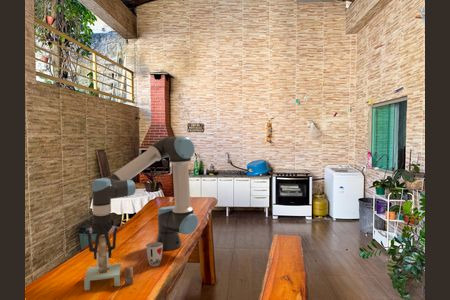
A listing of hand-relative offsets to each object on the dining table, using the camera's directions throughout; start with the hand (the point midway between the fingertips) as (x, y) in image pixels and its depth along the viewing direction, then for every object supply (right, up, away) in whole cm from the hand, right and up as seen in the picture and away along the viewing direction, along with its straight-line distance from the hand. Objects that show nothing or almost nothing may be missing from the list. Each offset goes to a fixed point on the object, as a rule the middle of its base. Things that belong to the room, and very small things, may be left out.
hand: (103, 265), depth 137 cm
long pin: (0, -3, 0) cm, 3 cm away
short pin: (+12, -8, -1) cm, 14 cm away
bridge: (0, -8, +1) cm, 8 cm away
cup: (+19, -7, +19) cm, 28 cm away
